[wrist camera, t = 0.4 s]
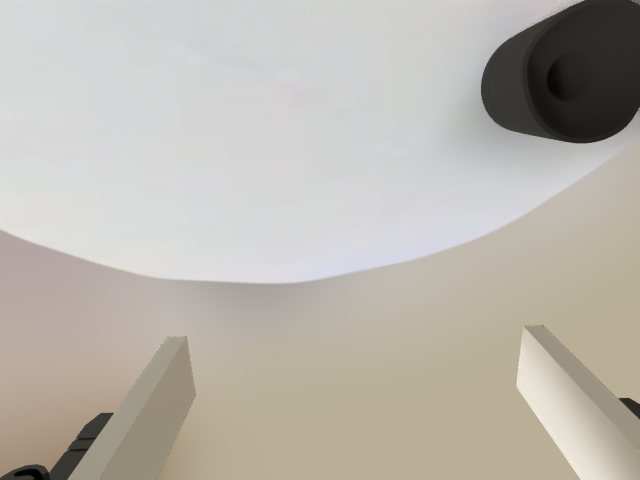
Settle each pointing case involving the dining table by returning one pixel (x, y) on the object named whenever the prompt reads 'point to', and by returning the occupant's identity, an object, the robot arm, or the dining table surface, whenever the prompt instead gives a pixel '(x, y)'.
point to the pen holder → (569, 74)
